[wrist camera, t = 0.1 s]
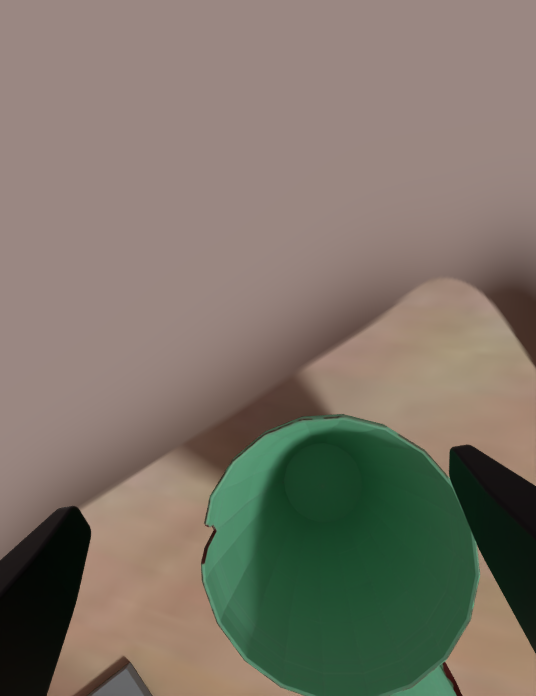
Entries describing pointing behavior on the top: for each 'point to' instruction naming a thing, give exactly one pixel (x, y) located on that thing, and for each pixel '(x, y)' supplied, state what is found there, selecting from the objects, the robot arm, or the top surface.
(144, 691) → the whiteboard
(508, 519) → the robot arm
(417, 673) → the mug
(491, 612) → the top surface
